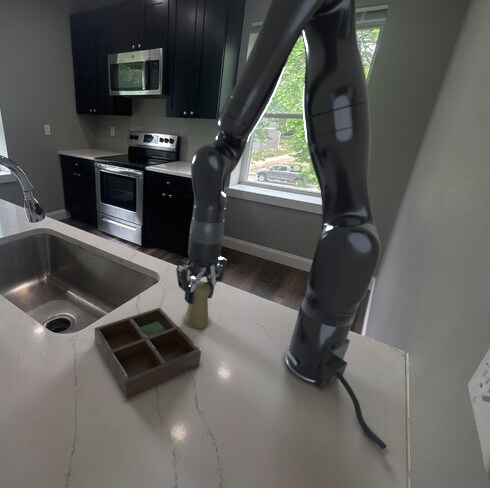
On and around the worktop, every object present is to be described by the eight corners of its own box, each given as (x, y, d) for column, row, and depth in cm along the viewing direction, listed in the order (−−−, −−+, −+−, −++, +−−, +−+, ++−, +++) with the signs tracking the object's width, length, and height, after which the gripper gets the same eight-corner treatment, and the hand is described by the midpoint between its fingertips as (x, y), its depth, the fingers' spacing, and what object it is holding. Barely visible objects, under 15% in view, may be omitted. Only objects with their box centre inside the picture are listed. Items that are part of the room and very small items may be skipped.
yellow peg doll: (207, 330, 73) (212, 292, 69) (183, 325, 74) (186, 288, 70) (209, 315, 79) (213, 279, 74) (186, 311, 80) (189, 275, 75)
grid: (199, 365, 62) (201, 350, 61) (126, 399, 54) (126, 383, 53) (159, 320, 75) (159, 307, 74) (95, 342, 67) (94, 328, 66)
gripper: (190, 248, 61) (183, 316, 67) (241, 237, 68) (230, 299, 75) (170, 235, 66) (166, 299, 73) (219, 226, 74) (211, 285, 80)
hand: (198, 299), depth 74 cm, fingers closed on yellow peg doll, 5 cm apart
